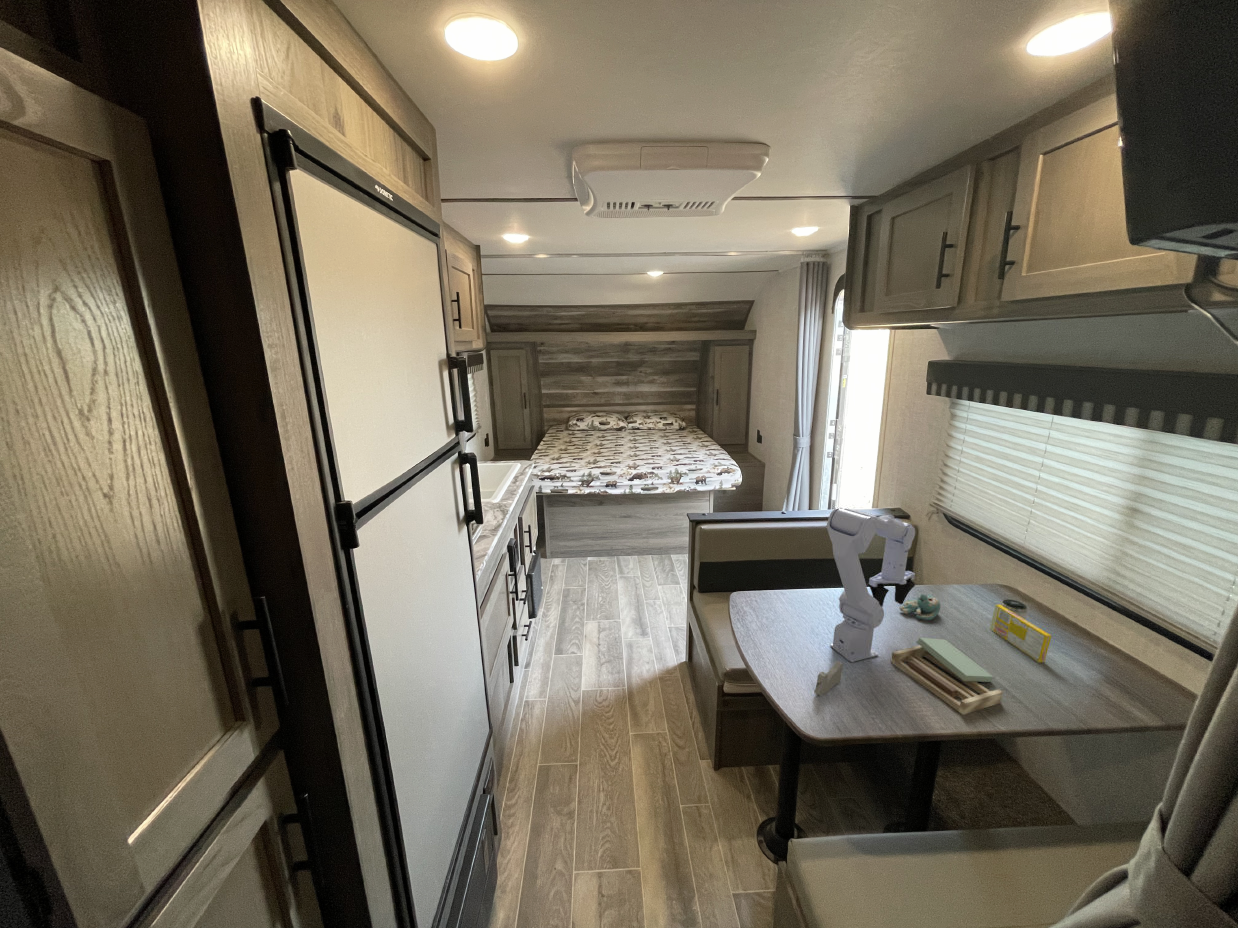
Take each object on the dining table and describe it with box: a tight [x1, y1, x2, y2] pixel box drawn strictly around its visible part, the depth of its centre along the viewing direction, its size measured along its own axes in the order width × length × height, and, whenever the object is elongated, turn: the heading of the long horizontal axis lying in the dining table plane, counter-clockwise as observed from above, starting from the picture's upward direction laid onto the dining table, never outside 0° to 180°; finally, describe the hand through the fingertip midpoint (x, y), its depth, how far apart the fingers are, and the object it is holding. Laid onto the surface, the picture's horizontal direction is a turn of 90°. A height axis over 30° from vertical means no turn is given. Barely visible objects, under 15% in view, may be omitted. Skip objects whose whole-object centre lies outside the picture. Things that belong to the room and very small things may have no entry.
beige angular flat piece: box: [813, 660, 844, 697], centre depth 118 cm, size 6×1×10 cm
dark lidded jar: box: [1000, 598, 1029, 621], centre depth 144 cm, size 6×6×8 cm
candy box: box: [989, 604, 1052, 663], centre depth 135 cm, size 16×2×8 cm, turn 4°
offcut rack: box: [890, 644, 1003, 716], centre depth 121 cm, size 12×20×3 cm, turn 18°
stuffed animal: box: [899, 593, 941, 621], centre depth 152 cm, size 11×7×12 cm
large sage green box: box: [916, 637, 994, 683], centre depth 126 cm, size 2×14×10 cm
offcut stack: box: [907, 660, 958, 699], centre depth 120 cm, size 2×12×3 cm, turn 18°
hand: (888, 604), depth 140 cm, fingers open, 7 cm apart
